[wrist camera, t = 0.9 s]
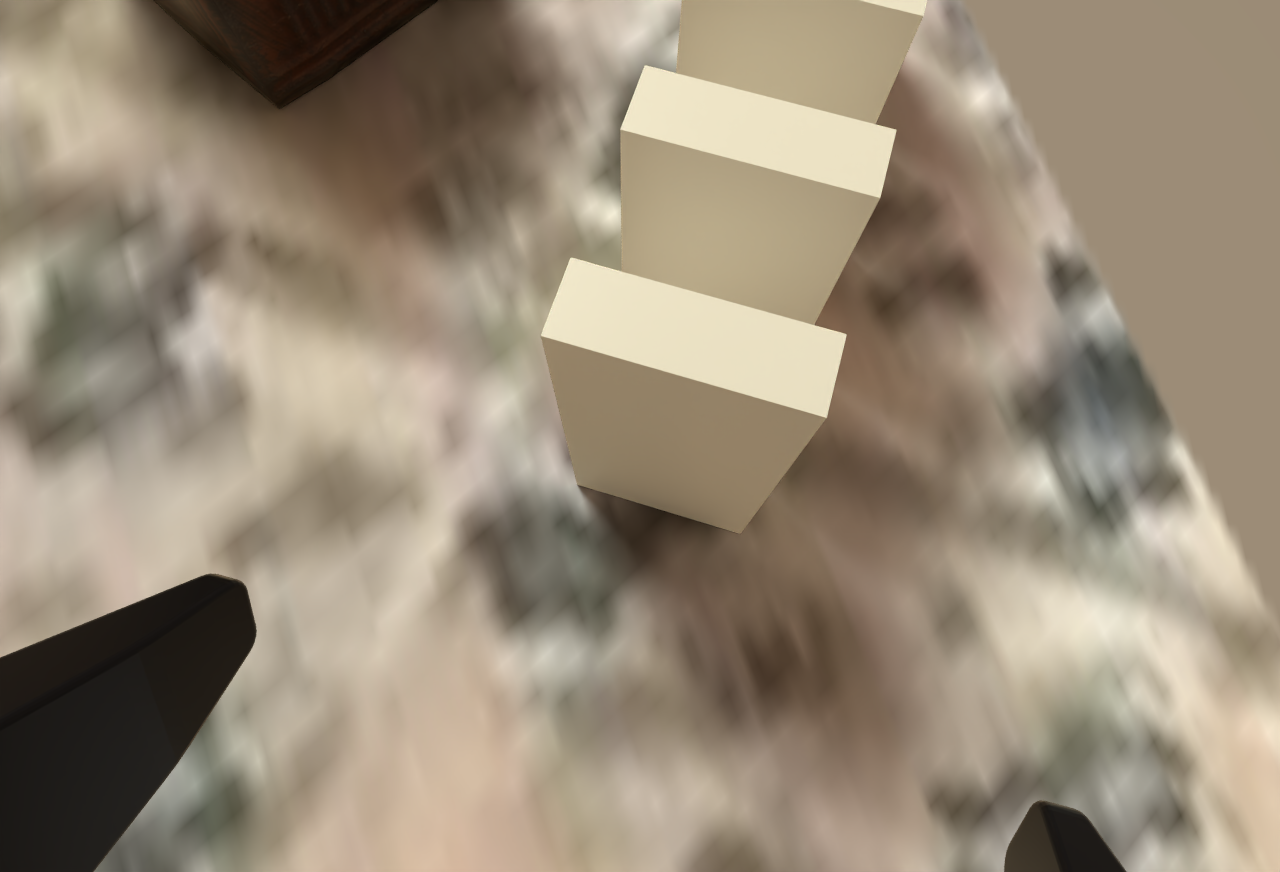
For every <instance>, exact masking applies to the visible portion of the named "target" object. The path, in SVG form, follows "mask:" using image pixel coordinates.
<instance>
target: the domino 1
mask: <svg viewBox="0 0 1280 872" xmlns="http://www.w3.org/2000/svg"><path fill="white" fill-rule="evenodd" d="M926 3H927V0H682V6H681V18H680V30H679V43H678V55H677V68H676V73H677V74H681V75H685V76H689V77H693V78H697V79H701V80H705V81H708V82H712V83H716V84H720V85H724V86H728V87H732V88H736V89H740V90H744V91H747V92H751V93H755V94H759V95H763V96H767V97H771V98H775V99H779V100H783V101H786V102H790V103H794V104H798V105H802V106H806V107H810V108H814V109H818V110H822V111H825V112H829V113H833V114H837V115H841V116H845V117H849V118H853V119H857V120H861V121H864V122H868V123H872V124H876V122H877V120H878V118H879V116H880V113H881V111H882V109H883V106H884V104H885V102H886V100H887V97H888V95H889V93H890V91H891V88H892V86H893V84H894V82H895V79H896V77H897V75H898V72H899V70H900V68H901V66H902V63H903V61H904V59H905V57H906V54H907V52H908V50H909V48H910V45H911V43H912V41H913V38H914V36H915V34H916V32H917V29H918V27H919V25H920V23H921V20H922V18H923V16H924V11H925V7H926Z"/></svg>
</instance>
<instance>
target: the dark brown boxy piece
mask: <svg viewBox="0 0 1280 872" xmlns="http://www.w3.org/2000/svg"><path fill="white" fill-rule="evenodd" d="M154 1H155V2H156V3H157V4H158V5H159V6H160V7H161V8H162V9H163V10H164V11H165V12H166V13H167V14H168V15H170V16H171V17H172V18H173V19H174V20H175V21H176V22H177V23H178V24H180V25H181V26H182V27H183V28H184V29H185V30H186V31H187V32H188V33H189V34H191V35H192V36H193V37H194V38H195V39H196V40H197V41H198V42H199V43H201V44H202V45H203V46H204V47H205V48H206V49H207V50H208V51H210V52H211V53H212V54H213V55H215V56H216V57H217V58H218V59H219V60H221V61H222V62H223V63H224V64H225V65H227V66H228V67H229V68H230V69H231V70H233V71H234V72H235V73H236V74H238V75H239V76H240V77H241V78H242V79H244V80H245V81H246V82H247V83H248V84H250V85H251V86H252V87H253V88H254V89H256V90H257V91H258V92H259V93H261V94H262V95H263V96H264V97H265V98H267V99H268V100H269V101H270V102H271V103H273V104H274V105H275V106H276V107H277V108H279V109H280V108H281V107H283V106H285V105H286V104H288V103H290V102H291V101H293V100H295V99H296V98H298V97H300V96H301V95H303V94H305V93H306V92H308V91H310V90H311V89H313V88H315V87H316V86H318V85H320V84H321V83H323V82H325V81H326V80H328V79H329V78H331V77H332V76H333V75H335V74H336V73H337V72H339V71H340V70H342V69H343V68H344V67H346V66H347V65H349V64H350V63H351V62H353V61H354V60H356V59H357V58H358V57H360V56H361V55H362V54H364V53H365V52H367V51H368V50H369V49H371V48H372V47H374V46H375V45H376V44H378V43H379V42H381V41H382V40H383V39H385V38H386V37H387V36H389V35H390V34H392V33H393V32H394V31H396V30H397V29H399V28H400V27H401V26H403V25H404V24H405V23H407V22H408V21H410V20H411V19H412V18H414V17H415V16H417V15H418V14H419V13H421V12H422V11H423V10H425V9H426V8H428V7H429V6H430V5H432V4H433V3H434V2H436V1H437V0H154Z"/></svg>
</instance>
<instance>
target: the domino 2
mask: <svg viewBox="0 0 1280 872" xmlns="http://www.w3.org/2000/svg"><path fill="white" fill-rule="evenodd" d="M896 131H897V130H896V129H892V128H888V127H884V126H880V125H876V124H872V123H868V122H864V121H861V120H857V119H853V118H849V117H845V116H841V115H837V114H833V113H829V112H825V111H822V110H818V109H814V108H810V107H806V106H802V105H798V104H794V103H790V102H786V101H783V100H779V99H775V98H771V97H767V96H763V95H759V94H755V93H751V92H747V91H744V90H740V89H736V88H732V87H728V86H724V85H720V84H716V83H712V82H708V81H705V80H701V79H697V78H693V77H689V76H685V75H681V74H677V73H673V72H669V71H666V70H662V69H658V68H654V67H650V66H646V65H645V67H644V69H643V72H642V74H641V77H640V80H639V82H638V85H637V87H636V90H635V93H634V95H633V98H632V101H631V103H630V106H629V108H628V111H627V114H626V116H625V119H624V121H623V124H622V127H621V129H620V137H621V239H622V272H625V273H628V274H632V275H636V276H639V277H643V278H646V279H650V280H654V281H657V282H661V283H664V284H668V285H672V286H675V287H679V288H682V289H686V290H690V291H693V292H697V293H700V294H704V295H708V296H711V297H715V298H718V299H722V300H726V301H729V302H733V303H736V304H740V305H744V306H747V307H751V308H754V309H758V310H762V311H765V312H769V313H772V314H776V315H780V316H783V317H787V318H790V319H794V320H798V321H801V322H805V323H808V324H812V325H814V324H815V323H816V321H817V319H818V317H819V315H820V313H821V311H822V309H823V307H824V305H825V303H826V301H827V299H828V298H829V296H830V294H831V292H832V290H833V288H834V286H835V284H836V282H837V280H838V278H839V276H840V274H841V273H842V271H843V269H844V267H845V265H846V263H847V261H848V259H849V257H850V255H851V253H852V251H853V249H854V248H855V246H856V244H857V242H858V240H859V238H860V236H861V234H862V232H863V230H864V228H865V226H866V224H867V223H868V221H869V219H870V217H871V215H872V213H873V211H874V209H875V207H876V205H877V203H878V201H879V200H880V197H881V193H882V189H883V185H884V180H885V176H886V172H887V168H888V164H889V160H890V156H891V151H892V147H893V143H894V139H895V135H896Z"/></svg>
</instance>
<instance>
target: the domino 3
mask: <svg viewBox="0 0 1280 872" xmlns="http://www.w3.org/2000/svg"><path fill="white" fill-rule="evenodd" d="M846 336H847V334H844V333H841V332H837V331H833V330H830V329H826V328H823V327H819V326H816V325H812V324H808V323H805V322H801V321H798V320H794V319H790V318H787V317H783V316H780V315H776V314H772V313H769V312H765V311H762V310H758V309H754V308H751V307H747V306H744V305H740V304H736V303H733V302H729V301H726V300H722V299H718V298H715V297H711V296H708V295H704V294H700V293H697V292H693V291H690V290H686V289H682V288H679V287H675V286H672V285H668V284H664V283H661V282H657V281H654V280H650V279H646V278H643V277H639V276H636V275H632V274H628V273H625V272H621V271H618V270H614V269H610V268H607V267H603V266H600V265H596V264H592V263H589V262H585V261H582V260H578V259H575V258H570V261H569V263H568V266H567V269H566V271H565V274H564V277H563V279H562V282H561V284H560V287H559V290H558V292H557V295H556V297H555V300H554V303H553V305H552V308H551V310H550V313H549V316H548V318H547V321H546V324H545V326H544V329H543V331H542V334H541V339H542V343H543V347H544V351H545V355H546V359H547V363H548V367H549V371H550V375H551V380H552V384H553V388H554V392H555V396H556V400H557V404H558V408H559V412H560V416H561V421H562V425H563V429H564V433H565V437H566V441H567V445H568V449H569V453H570V457H571V462H572V466H573V470H574V474H575V478H576V482H577V485H580V486H583V487H587V488H590V489H593V490H597V491H600V492H603V493H606V494H610V495H613V496H616V497H620V498H623V499H626V500H630V501H633V502H636V503H640V504H643V505H646V506H650V507H653V508H656V509H659V510H663V511H666V512H669V513H673V514H676V515H679V516H683V517H686V518H689V519H693V520H696V521H699V522H702V523H706V524H709V525H712V526H716V527H719V528H722V529H726V530H729V531H732V532H736V533H739V534H741V533H742V531H743V530H744V529H745V527H746V526H747V525H748V523H749V522H750V521H751V519H752V518H753V517H754V515H755V514H756V513H757V511H758V510H759V509H760V507H761V506H762V504H763V503H764V502H765V500H766V499H767V498H768V496H769V495H770V494H771V492H772V491H773V490H774V488H775V487H776V486H777V484H778V483H779V482H780V480H781V479H782V478H783V476H784V475H785V473H786V472H787V471H788V469H789V468H790V467H791V465H792V464H793V463H794V461H795V460H796V459H797V457H798V456H799V455H800V453H801V452H802V451H803V449H804V448H805V447H806V445H807V444H808V442H809V441H810V440H811V438H812V437H813V436H814V434H815V433H816V432H817V430H818V429H819V428H820V426H821V425H822V424H823V422H824V421H825V420H826V418H827V415H828V411H829V406H830V402H831V398H832V394H833V390H834V386H835V381H836V377H837V373H838V369H839V365H840V361H841V357H842V352H843V348H844V344H845V340H846Z"/></svg>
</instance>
